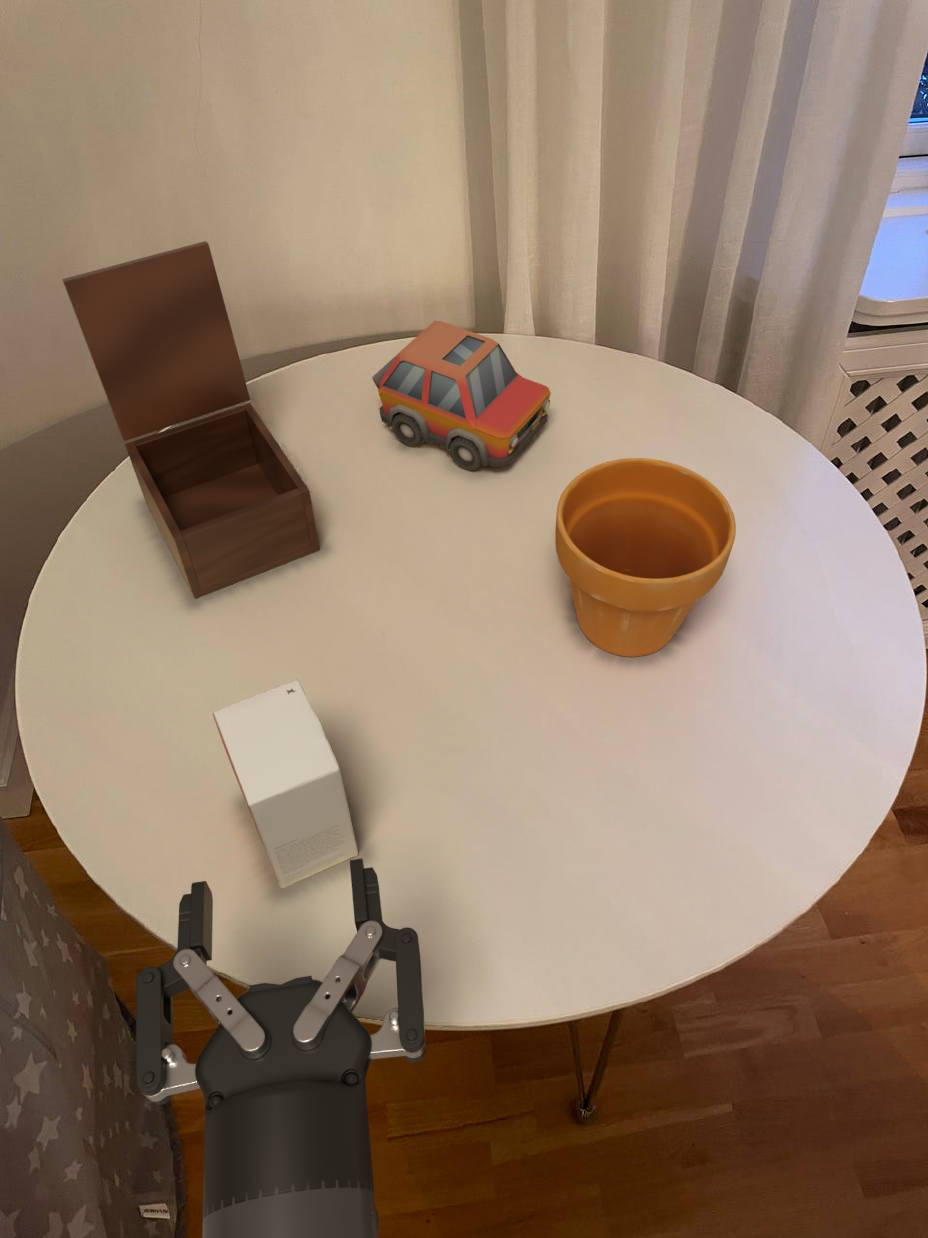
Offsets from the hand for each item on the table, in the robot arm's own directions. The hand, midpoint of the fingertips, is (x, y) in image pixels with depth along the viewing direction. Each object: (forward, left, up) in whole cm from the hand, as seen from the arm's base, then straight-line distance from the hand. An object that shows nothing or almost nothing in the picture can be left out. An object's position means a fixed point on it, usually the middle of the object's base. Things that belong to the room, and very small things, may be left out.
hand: (280, 876), depth 52 cm
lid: (-8, +53, 0) cm, 54 cm away
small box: (0, +11, -16) cm, 20 cm away
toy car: (+20, +56, -16) cm, 62 cm away
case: (-5, +45, -16) cm, 48 cm away
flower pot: (+30, +27, -16) cm, 43 cm away
